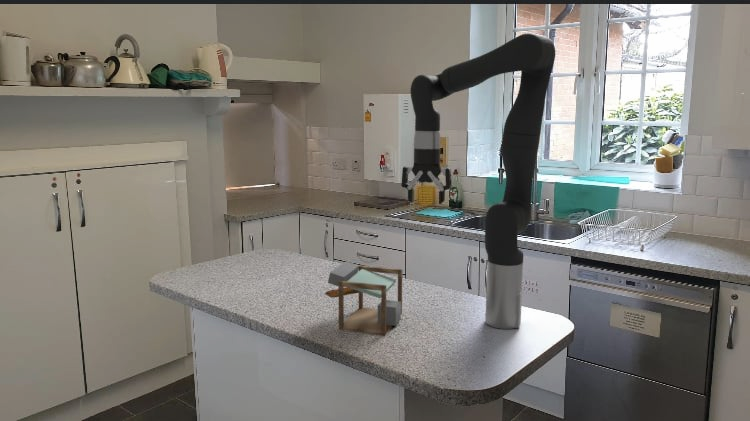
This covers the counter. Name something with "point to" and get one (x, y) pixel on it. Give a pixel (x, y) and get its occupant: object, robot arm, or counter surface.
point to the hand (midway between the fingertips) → (426, 203)
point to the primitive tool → (336, 292)
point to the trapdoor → (359, 278)
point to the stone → (391, 312)
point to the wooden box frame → (367, 317)
